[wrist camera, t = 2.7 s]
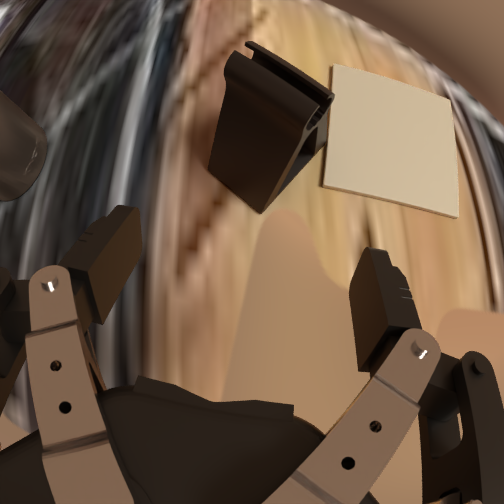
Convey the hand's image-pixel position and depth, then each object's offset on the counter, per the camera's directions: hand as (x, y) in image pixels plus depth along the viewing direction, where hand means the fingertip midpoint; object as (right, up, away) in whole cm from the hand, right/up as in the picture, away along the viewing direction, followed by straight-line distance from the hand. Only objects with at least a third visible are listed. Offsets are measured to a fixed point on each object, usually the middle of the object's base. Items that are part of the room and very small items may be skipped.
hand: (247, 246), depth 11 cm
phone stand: (+2, +8, +17) cm, 19 cm away
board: (+14, +11, +17) cm, 25 cm away
